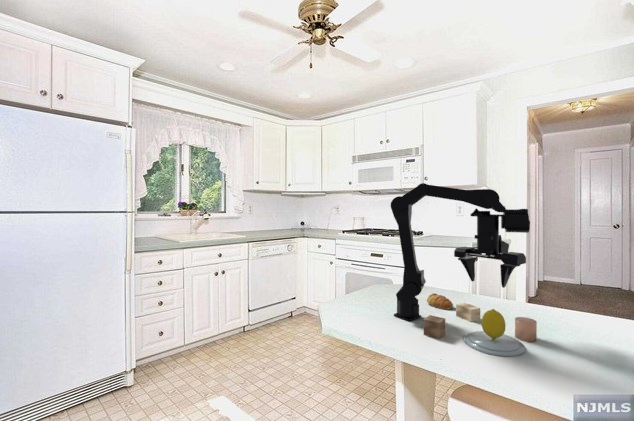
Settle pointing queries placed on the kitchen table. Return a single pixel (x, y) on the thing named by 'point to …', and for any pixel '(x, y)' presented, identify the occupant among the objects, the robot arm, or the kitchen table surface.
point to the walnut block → (434, 326)
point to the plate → (494, 344)
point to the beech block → (468, 312)
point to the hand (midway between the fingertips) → (487, 284)
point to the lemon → (493, 324)
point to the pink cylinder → (526, 329)
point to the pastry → (439, 301)
